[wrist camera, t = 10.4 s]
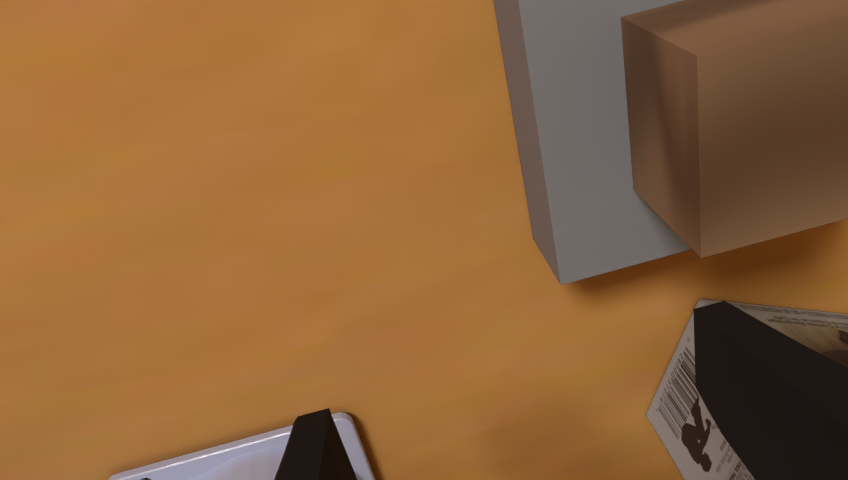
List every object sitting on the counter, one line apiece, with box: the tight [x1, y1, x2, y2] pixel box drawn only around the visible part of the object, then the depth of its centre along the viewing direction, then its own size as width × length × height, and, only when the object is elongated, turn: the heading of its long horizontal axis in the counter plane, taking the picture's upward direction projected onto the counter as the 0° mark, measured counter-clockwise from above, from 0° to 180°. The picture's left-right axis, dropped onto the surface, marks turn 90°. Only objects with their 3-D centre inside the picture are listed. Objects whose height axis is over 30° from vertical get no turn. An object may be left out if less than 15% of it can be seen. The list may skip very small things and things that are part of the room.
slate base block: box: [494, 0, 692, 285], centre depth 20 cm, size 10×10×3 cm
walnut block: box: [621, 0, 848, 258], centre depth 17 cm, size 5×5×4 cm
